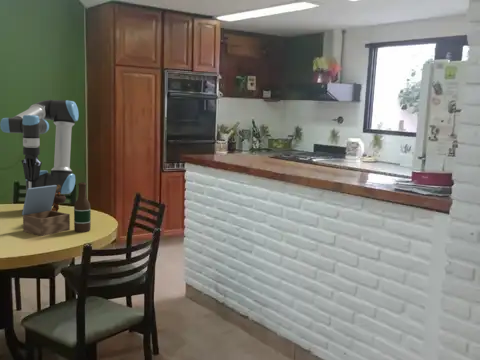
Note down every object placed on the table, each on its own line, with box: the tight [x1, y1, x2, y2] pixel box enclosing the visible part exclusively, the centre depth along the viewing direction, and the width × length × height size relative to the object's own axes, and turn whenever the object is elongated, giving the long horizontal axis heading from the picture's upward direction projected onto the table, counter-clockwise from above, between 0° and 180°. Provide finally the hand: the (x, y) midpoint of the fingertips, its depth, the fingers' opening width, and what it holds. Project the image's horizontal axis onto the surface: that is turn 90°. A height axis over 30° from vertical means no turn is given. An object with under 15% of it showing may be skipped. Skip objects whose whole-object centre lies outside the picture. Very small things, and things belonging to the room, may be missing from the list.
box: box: [22, 210, 71, 237], centre depth 244 cm, size 16×14×8 cm
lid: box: [21, 185, 57, 216], centre depth 246 cm, size 16×14×1 cm
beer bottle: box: [73, 181, 92, 233], centre depth 246 cm, size 8×8×24 cm
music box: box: [51, 185, 67, 212], centre depth 263 cm, size 15×11×20 cm
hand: (32, 194), depth 248 cm, fingers closed
